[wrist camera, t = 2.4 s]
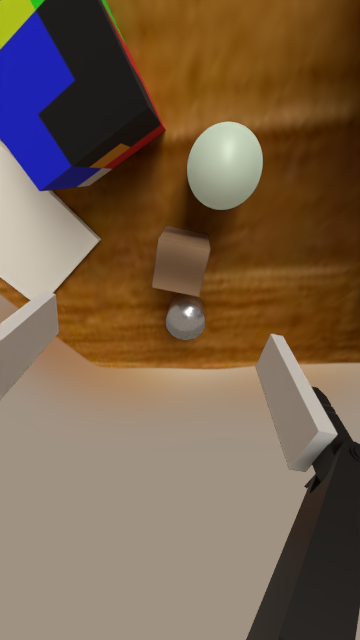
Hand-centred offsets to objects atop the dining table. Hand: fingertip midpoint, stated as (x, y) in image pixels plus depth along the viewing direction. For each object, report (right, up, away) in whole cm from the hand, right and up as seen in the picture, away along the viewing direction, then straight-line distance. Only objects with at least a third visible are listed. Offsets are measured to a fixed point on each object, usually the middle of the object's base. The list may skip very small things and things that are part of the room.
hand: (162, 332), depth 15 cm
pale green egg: (+5, +17, +10) cm, 20 cm away
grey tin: (+2, +2, +19) cm, 20 cm away
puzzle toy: (-7, +22, +9) cm, 24 cm away
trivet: (-19, +11, +15) cm, 27 cm away
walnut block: (+1, +9, +15) cm, 18 cm away
